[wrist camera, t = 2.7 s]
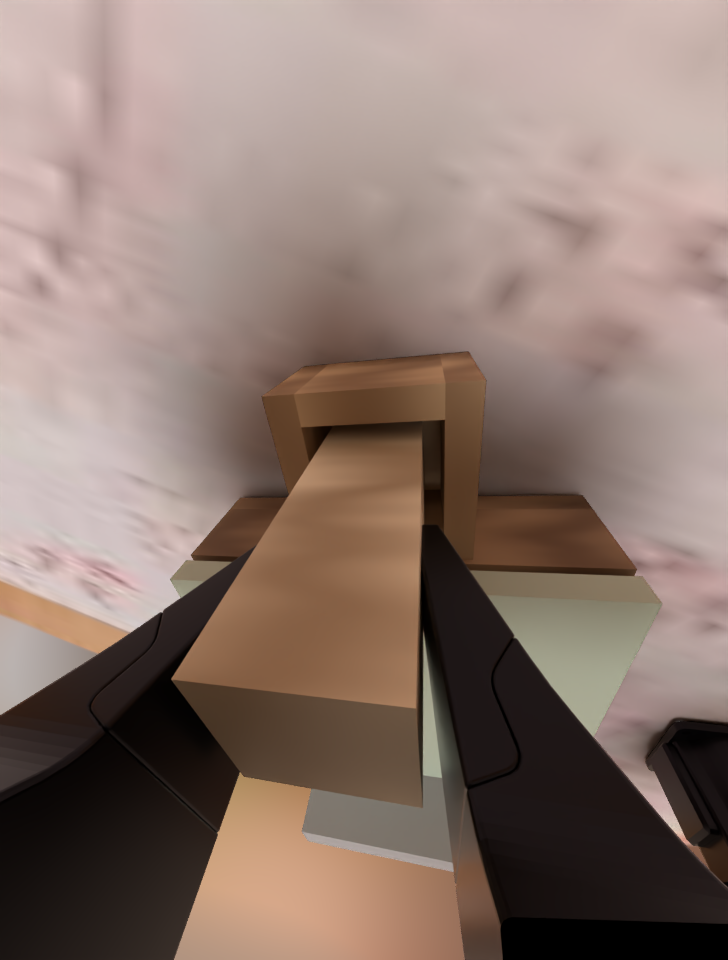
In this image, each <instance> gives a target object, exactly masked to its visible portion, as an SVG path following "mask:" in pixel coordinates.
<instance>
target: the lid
mask: <svg viewBox="0 0 728 960" xmlns="http://www.w3.org/2000/svg"><path fill="white" fill-rule="evenodd" d="M230 563H231V562H220V561H192V560H186V561H185V563H184V564H183V565H182V566H181V567H180V568H179V570H178V571H177V572H176V573H175V574H174V575H173V577H172V578H171V579H170V580H171V582H172V584H173V585H174V587H175V589H176V591H177V592H178V594H179V596H180V597H183V596H184V595H186V594H187V593H189V592H190V591H191V590H193V589H194V588H196V587H197V586H198V585H200V584H201V583H203V582H204V581H206V580H207V579H208V578H210V577H211V576H213V575H214V574H216V573H217V572H218V571H220V570H221V569H223V568H224V567H226V566H227V565H228V564H230ZM470 571H471V573H472V574H473V576H474V577H475V578H476V580H477V581H478V583H479V584H480V586H481V587H482V589H483V590H484V591H485V593H486V594H487V596H488V597H489V599H490V600H491V602H492V603H493V604H494V606H495V607H496V609H497V610H498V612H499V613H500V615H501V616H502V617H503V619H504V620H505V622H506V623H507V625H508V626H509V628H510V629H511V630H512V632H513V633H514V635H515V637H514V638H517V639H518V640H519V642H520V643H521V645H522V646H523V647H524V649H525V650H526V652H527V653H528V655H529V656H530V658H531V659H532V660H533V662H534V663H535V664H536V666H537V667H538V668H539V670H540V671H541V673H542V674H543V675H544V677H545V678H546V679H547V681H548V682H549V683H550V685H551V686H552V687H553V689H554V690H555V691H556V692H557V693H558V695H559V696H560V697H561V698H562V700H563V701H564V702H565V703H566V705H567V706H568V707H569V708H570V709H571V711H572V712H573V713H574V714H575V716H576V717H577V718H578V719H579V721H580V722H581V723H582V724H583V725H584V726H585V728H586V729H587V730H588V731H589V732H590V734H591V735H592V736H593V737H594V735H595V733H596V731H597V730H598V728H599V726H600V724H601V722H602V720H603V718H604V716H605V714H606V712H607V710H608V708H609V706H610V704H611V702H612V700H613V699H614V697H615V695H616V693H617V691H618V689H619V687H620V685H621V683H622V681H623V679H624V677H625V675H626V673H627V671H628V669H629V668H630V666H631V664H632V662H633V660H634V658H635V656H636V654H637V652H638V650H639V648H640V646H641V644H642V642H643V640H644V638H645V637H646V635H647V633H648V631H649V629H650V627H651V625H652V623H653V621H654V619H655V617H656V615H657V613H658V611H659V609H660V607H661V606H662V603H661V601H660V600H659V598H658V597H657V596H656V594H655V593H654V592H653V590H652V589H651V588H650V586H649V585H648V583H647V582H646V581H645V579H644V578H643V577H641V576H613V575H585V574H557V573H529V572H501V571H473V570H470ZM302 833H303V834H304V835H305V837H306V839H307V840H308V841H310V842H315V843H319V844H324V845H329V846H333V847H338V848H343V849H348V850H352V851H357V852H362V853H367V854H371V855H376V856H381V857H386V858H390V859H395V860H400V861H404V862H409V863H414V864H419V865H424V866H428V867H433V868H438V869H442V870H447V871H452V872H454V870H453V862H452V854H451V846H450V838H449V830H448V822H447V814H446V806H445V798H444V790H443V782H442V774H441V766H440V758H439V750H438V742H437V734H436V726H435V718H434V710H433V702H432V694H431V686H430V678H429V670H428V662H427V654H426V646H425V638H424V670H423V808H418V807H413V806H407V805H401V804H396V803H390V802H385V801H379V800H373V799H368V798H362V797H356V796H351V795H345V794H339V793H334V792H328V791H323V790H317V789H311V793H310V797H309V802H308V806H307V811H306V815H305V820H304V824H303V828H302Z"/></svg>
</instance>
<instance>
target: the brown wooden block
mask: <svg viewBox="0 0 728 960" xmlns="http://www.w3.org/2000/svg"><path fill="white" fill-rule="evenodd" d="M423 524H424V455H423V421H412V422H392V423H373V424H354V425H334V426H333V427H332V429H331V430H330V432H329V433H328V435H327V436H326V438H325V440H324V441H323V443H322V444H321V446H320V447H319V449H318V451H317V452H316V454H315V455H314V457H313V458H312V460H311V461H310V463H309V465H308V466H307V468H306V469H305V471H304V472H303V474H302V476H301V477H300V479H299V480H298V482H297V483H296V485H295V486H294V488H293V490H292V491H291V493H290V494H289V496H288V497H287V499H286V501H285V502H284V504H283V505H282V507H281V508H280V510H279V511H278V513H277V515H276V516H275V518H274V519H273V521H272V522H271V524H270V526H269V527H268V529H267V530H266V532H265V533H264V535H263V536H262V538H261V540H260V541H259V543H258V544H257V546H256V547H255V549H254V551H253V552H252V554H251V555H250V557H249V558H248V560H247V562H246V563H245V565H244V566H243V568H242V569H241V571H240V572H239V574H238V576H237V577H236V579H235V580H234V582H233V583H232V585H231V587H230V588H229V590H228V591H227V593H226V594H225V596H224V597H223V599H222V601H221V602H220V604H219V605H218V607H217V608H216V610H215V612H214V613H213V615H212V616H211V618H210V619H209V621H208V622H207V624H206V626H205V627H204V629H203V630H202V632H201V633H200V635H199V637H198V638H197V640H196V641H195V643H194V644H193V646H192V647H191V649H190V651H189V652H188V654H187V655H186V657H185V658H184V660H183V662H182V663H181V665H180V666H179V668H178V669H177V671H176V672H175V674H174V676H173V677H172V679H171V680H172V681H173V683H174V684H175V685H176V687H177V688H178V689H179V691H180V692H181V693H182V695H183V696H184V697H185V699H186V700H187V701H188V703H189V704H190V705H191V707H192V708H193V709H194V711H195V712H196V713H197V715H198V716H199V717H200V719H201V720H202V721H203V723H204V724H205V725H206V727H207V728H208V729H209V731H210V732H211V733H212V735H213V736H214V737H215V739H216V740H217V741H218V743H219V744H220V745H221V747H222V748H223V750H224V751H225V752H226V754H227V755H228V756H229V758H230V759H231V760H232V762H233V763H234V764H235V766H236V767H237V768H238V770H239V771H240V772H241V773H242V775H243V776H244V777H250V778H255V779H261V780H266V781H272V782H277V783H283V784H289V785H294V786H300V787H306V788H311V789H317V790H323V791H328V792H334V793H339V794H345V795H351V796H356V797H362V798H368V799H373V800H379V801H385V802H390V803H396V804H401V805H407V806H413V807H418V808H423V670H424V630H423V610H422V584H421V540H422V525H423Z"/></svg>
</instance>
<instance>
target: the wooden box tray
mask: <svg viewBox="0 0 728 960" xmlns="http://www.w3.org/2000/svg"><path fill="white" fill-rule="evenodd" d="M485 389H486V379H485V378H484V376H483V374H482V373H481V371H480V369H479V368H478V366H477V365H476V363H475V361H474V360H473V358H472V356H471V355H470V353H469V352H459V353H447V354H436V355H425V356H414V357H403V358H392V359H381V360H370V361H359V362H348V363H337V364H326V365H315V366H304V367H303V368H302V369H300V370H299V371H297V372H296V373H294V374H293V375H292V376H290V377H289V378H287V379H286V380H284V381H283V382H282V383H280V384H279V385H277V386H276V387H274V388H273V389H272V390H270V391H269V392H267V393H266V394H264V395H263V396H262V400H263V404H264V408H265V411H266V415H267V419H268V422H269V426H270V429H271V433H272V437H273V440H274V444H275V447H276V451H277V455H278V458H279V462H280V465H281V469H282V473H283V476H284V480H285V484H286V487H287V491H288V494H290V493H291V491H292V490H293V488H294V486H295V485H296V483H297V482H298V480H299V479H300V477H301V476H302V474H303V472H304V471H305V469H306V468H307V466H308V465H309V463H310V461H311V460H312V458H313V457H314V455H315V454H316V452H317V451H318V449H319V447H320V446H321V444H322V443H323V441H324V440H325V438H326V436H327V435H328V433H329V432H330V430H331V429H332V427H333V426H334V425H354V424H373V423H392V422H412V421H423V455H424V524H436V525H438V526H439V527H440V528H441V529H442V531H443V532H444V534H445V535H446V537H447V538H448V540H449V541H450V542H451V544H452V545H453V547H454V548H455V550H456V551H457V552H458V554H459V555H460V557H461V558H462V560H463V561H464V563H465V564H466V565H467V567H468V568H469V570H473V571H501V572H529V573H557V574H585V575H613V576H634V575H635V573H636V570H637V569H636V567H635V566H634V564H633V563H632V562H631V560H630V559H629V558H628V556H627V555H626V554H625V552H624V551H623V550H622V548H621V547H620V545H619V544H618V543H617V541H616V540H615V539H614V537H613V536H612V535H611V533H610V532H609V530H608V529H607V528H606V526H605V525H604V524H603V522H602V521H601V520H600V518H599V517H598V516H597V514H596V513H595V511H594V510H593V509H592V507H591V506H590V505H589V503H588V502H587V501H586V499H585V498H584V496H583V495H555V496H478V486H479V472H480V458H481V444H482V430H483V416H484V403H485ZM286 499H287V497H277V498H239V500H238V501H237V502H236V503H235V504H234V505H233V507H232V508H231V509H230V510H229V511H228V512H227V514H226V515H225V516H224V517H223V518H222V519H221V521H220V522H219V523H218V524H217V525H216V526H215V528H214V529H213V530H212V531H211V532H210V533H209V535H208V536H207V537H206V538H205V539H204V540H203V542H202V543H201V544H200V545H199V546H198V547H197V549H196V550H195V551H194V552H193V553H192V554H191V556H192V558H193V560H194V561H220V562H233V561H234V560H236V559H237V558H238V557H240V556H241V555H243V554H244V553H246V552H247V551H248V550H250V549H251V548H253V547H254V546H255V545H257V544H258V543H259V541H260V540H261V538H262V536H263V535H264V533H265V532H266V530H267V529H268V527H269V526H270V524H271V522H272V521H273V519H274V518H275V516H276V515H277V513H278V511H279V510H280V508H281V507H282V505H283V504H284V502H285V501H286Z"/></svg>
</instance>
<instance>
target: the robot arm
mask: <svg viewBox="0 0 728 960" xmlns="http://www.w3.org/2000/svg"><path fill="white" fill-rule="evenodd" d="M256 546H257V545H255V546H254V547H253V548H251V549H250V550H248V551H247V552H246V553H244V554H243V555H241V556H240V557H238V558H237V559H236V560H234V561H233V562H231V563H230V564H228V565H227V566H226V567H224V568H223V569H221V570H220V571H218V572H217V573H216V574H214V575H213V576H211V577H210V578H208V579H207V580H206V581H204V582H203V583H201V584H200V585H198V586H197V587H196V588H194V589H193V590H191V591H190V592H189V593H187V594H186V595H184V596H183V597H181V598H180V599H179V600H177V601H176V602H174V603H173V604H171V605H170V606H169V607H167V608H166V609H164V611H163V613H162V612H160V613H158V614H157V615H156V616H154V617H153V618H151V619H150V620H149V621H147V622H146V623H144V624H143V625H141V626H140V627H138V628H137V629H135V630H134V631H133V632H131V633H130V634H128V635H127V636H125V637H124V638H122V639H121V640H119V641H118V642H116V643H115V644H113V645H112V646H110V647H109V648H107V649H105V650H104V651H102V652H101V653H99V654H98V655H96V656H95V657H93V658H91V659H90V660H88V661H87V662H85V663H84V664H82V665H80V666H79V667H77V668H75V669H74V670H72V671H71V672H69V673H67V674H66V675H65V676H63V677H61V678H60V679H58V680H56V681H55V682H53V683H51V684H50V685H48V686H47V687H45V688H43V689H42V690H40V691H39V692H37V693H35V694H34V695H32V696H31V697H29V698H28V699H26V700H24V701H23V702H21V703H20V704H18V705H17V706H15V707H13V708H11V709H10V710H8V711H7V712H5V713H3V714H2V715H0V960H174V958H175V955H176V952H177V949H178V946H179V943H180V941H181V938H182V935H183V932H184V929H185V926H186V924H187V921H188V918H189V915H190V912H191V909H192V906H193V904H194V901H195V898H196V895H197V892H198V890H199V887H200V884H201V881H202V878H203V876H204V873H205V870H206V867H207V864H208V861H209V859H210V856H211V853H212V850H213V847H214V844H215V841H216V839H217V836H218V834H217V832H218V831H219V830H220V827H221V824H222V821H223V818H224V815H225V812H226V810H227V807H228V804H229V801H230V798H231V795H232V793H233V790H234V787H235V784H236V781H237V779H238V776H239V773H240V771H239V770H238V768H237V767H236V766H235V764H234V763H233V762H232V760H231V759H230V758H229V756H228V755H227V754H226V752H225V751H224V750H223V748H222V747H221V745H220V744H219V743H218V741H217V740H216V739H215V737H214V736H213V735H212V733H211V732H210V731H209V729H208V728H207V727H206V725H205V724H204V723H203V721H202V720H201V719H200V717H199V716H198V715H197V713H196V712H195V711H194V709H193V708H192V707H191V705H190V704H189V703H188V701H187V700H186V699H185V697H184V696H183V695H182V693H181V692H180V691H179V689H178V688H177V687H176V685H175V684H174V683H173V681H172V680H171V679H172V677H173V676H174V674H175V672H176V671H177V669H178V668H179V666H180V665H181V663H182V662H183V660H184V658H185V657H186V655H187V654H188V652H189V651H190V649H191V647H192V646H193V644H194V643H195V641H196V640H197V638H198V637H199V635H200V633H201V632H202V630H203V629H204V627H205V626H206V624H207V622H208V621H209V619H210V618H211V616H212V615H213V613H214V612H215V610H216V608H217V607H218V605H219V604H220V602H221V601H222V599H223V597H224V596H225V594H226V593H227V591H228V590H229V588H230V587H231V585H232V583H233V582H234V580H235V579H236V577H237V576H238V574H239V572H240V571H241V569H242V568H243V566H244V565H245V563H246V562H247V560H248V558H249V557H250V555H251V554H252V552H253V551H254V549H255V547H256ZM421 584H422V610H423V630H424V638H425V646H426V654H427V662H428V670H429V678H430V686H431V694H432V702H433V710H434V718H435V726H436V734H437V742H438V750H439V758H440V766H441V774H442V782H443V790H444V798H445V806H446V814H447V822H448V830H449V838H450V846H451V854H452V862H453V870H454V878H455V883H456V894H457V901H458V910H459V918H460V926H461V934H462V941H463V950H464V957H465V960H728V726H722V725H713V724H704V723H695V722H685V721H680V722H675V723H674V724H672V726H671V727H670V728H669V730H668V731H667V732H666V734H665V735H664V736H663V738H662V739H661V740H660V742H659V743H658V744H657V746H656V747H655V749H654V750H653V751H652V753H651V754H650V755H649V757H648V758H647V759H646V761H645V762H646V765H647V767H648V769H649V770H651V771H655V773H656V775H657V777H658V780H659V782H660V784H661V786H662V788H663V790H664V792H665V794H666V797H667V799H668V801H669V803H670V805H671V807H672V809H673V812H674V814H675V816H676V818H677V820H678V822H679V824H680V827H681V829H682V831H683V833H684V835H685V837H686V839H687V840H688V841H689V842H690V843H691V844H692V845H693V846H698V847H699V849H700V851H701V853H702V855H703V857H704V859H705V861H706V863H707V865H708V867H709V869H710V870H709V869H708V868H707V867H706V866H705V865H704V864H703V863H702V862H701V861H700V860H699V859H698V857H697V856H696V855H695V854H694V853H693V852H692V851H691V850H690V849H689V848H688V847H687V846H686V845H685V844H684V843H683V842H682V840H681V839H680V838H679V837H678V836H677V835H676V834H675V832H674V831H673V830H672V829H671V828H670V827H669V826H668V824H667V823H666V822H665V821H664V820H663V819H662V817H661V816H660V815H659V814H658V813H657V812H656V810H655V809H654V808H653V807H652V806H651V804H650V803H649V802H648V801H647V800H646V799H645V797H644V796H643V795H642V794H641V793H640V791H639V790H638V789H637V788H636V787H635V786H634V784H633V783H632V782H631V781H630V780H629V778H628V777H627V776H626V775H625V774H624V773H623V771H622V770H621V769H620V768H619V767H618V765H617V764H616V763H615V762H614V761H613V760H612V758H611V757H610V756H609V755H608V754H607V752H606V751H605V750H604V749H603V748H602V747H601V745H600V744H599V743H598V742H597V741H596V739H595V738H594V737H593V736H592V735H591V734H590V732H589V731H588V730H587V729H586V728H585V726H584V725H583V724H582V723H581V722H580V721H579V719H578V718H577V717H576V716H575V714H574V713H573V712H572V711H571V709H570V708H569V707H568V706H567V705H566V703H565V702H564V701H563V700H562V698H561V697H560V696H559V695H558V693H557V692H556V691H555V690H554V689H553V687H552V686H551V685H550V683H549V682H548V681H547V679H546V678H545V677H544V675H543V674H542V673H541V671H540V670H539V668H538V667H537V666H536V664H535V663H534V662H533V660H532V659H531V658H530V656H529V655H528V653H527V652H526V650H525V649H524V647H523V646H522V645H521V643H520V642H519V640H518V639H517V638H514V637H515V635H514V633H513V632H512V630H511V629H510V628H509V626H508V625H507V623H506V622H505V620H504V619H503V617H502V616H501V615H500V613H499V612H498V610H497V609H496V607H495V606H494V604H493V603H492V602H491V600H490V599H489V597H488V596H487V594H486V593H485V591H484V590H483V589H482V587H481V586H480V584H479V583H478V581H477V580H476V578H475V577H474V576H473V574H472V573H471V571H470V570H469V568H468V567H467V565H466V564H465V563H464V561H463V560H462V558H461V557H460V555H459V554H458V552H457V551H456V550H455V548H454V547H453V545H452V544H451V542H450V541H449V540H448V538H447V537H446V535H445V534H444V532H443V531H442V529H441V528H440V527H439V526H438V525H436V524H423V525H422V540H421Z"/></svg>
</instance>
